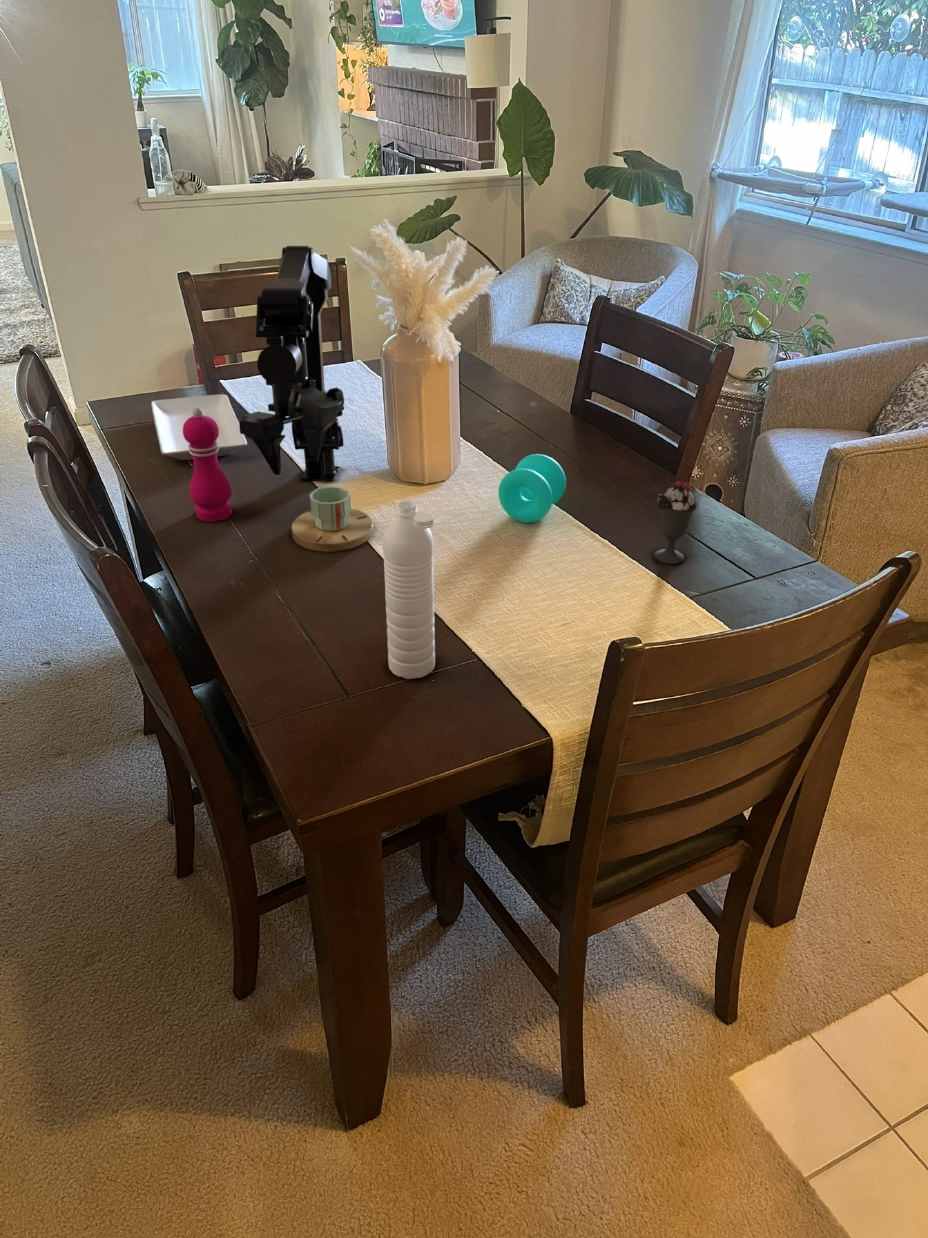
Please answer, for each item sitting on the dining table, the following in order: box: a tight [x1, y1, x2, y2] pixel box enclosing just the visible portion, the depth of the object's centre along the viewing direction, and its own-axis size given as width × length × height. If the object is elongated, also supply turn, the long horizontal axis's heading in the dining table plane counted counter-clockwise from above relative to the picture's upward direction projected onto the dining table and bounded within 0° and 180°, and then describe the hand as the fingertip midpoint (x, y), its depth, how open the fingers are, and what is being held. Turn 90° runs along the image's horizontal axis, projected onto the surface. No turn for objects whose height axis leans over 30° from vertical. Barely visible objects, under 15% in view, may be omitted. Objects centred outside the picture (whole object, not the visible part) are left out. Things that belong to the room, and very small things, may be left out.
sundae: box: [653, 471, 699, 565], centre depth 150 cm, size 7×7×15 cm
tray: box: [150, 393, 248, 461], centre depth 195 cm, size 17×32×4 cm, turn 20°
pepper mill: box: [183, 408, 233, 523], centre depth 160 cm, size 7×7×20 cm
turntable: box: [291, 507, 374, 553], centre depth 160 cm, size 14×14×2 cm
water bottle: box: [382, 500, 436, 680], centre depth 120 cm, size 9×6×25 cm
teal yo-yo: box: [497, 453, 567, 524], centre depth 164 cm, size 10×10×10 cm
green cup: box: [308, 485, 352, 531], centre depth 158 cm, size 7×7×6 cm
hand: (296, 467), depth 151 cm, fingers open, 9 cm apart
